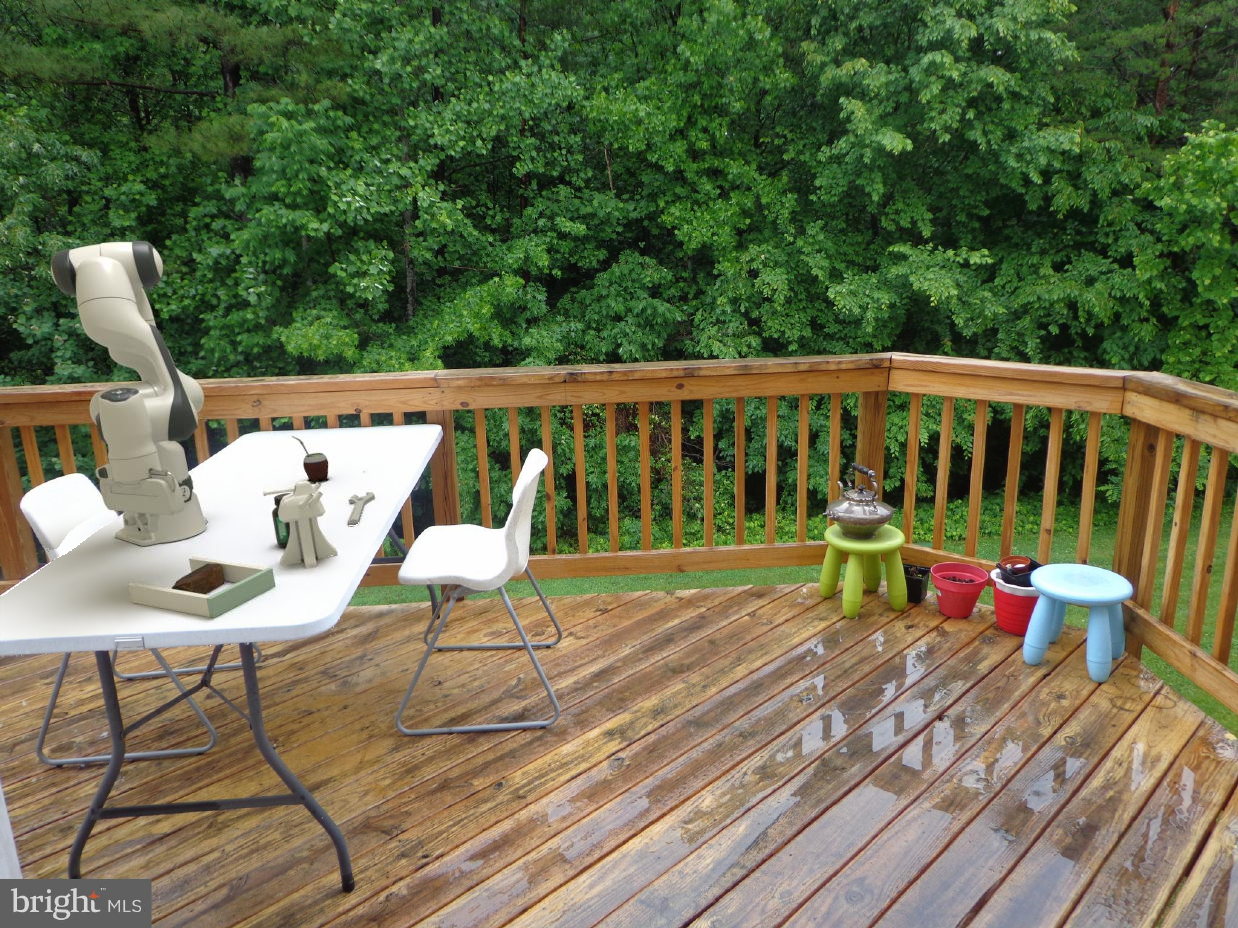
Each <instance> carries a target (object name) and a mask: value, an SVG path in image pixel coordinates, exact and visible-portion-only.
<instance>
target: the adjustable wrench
mask: <svg viewBox="0 0 1238 928" xmlns="http://www.w3.org/2000/svg"><path fill="white" fill-rule="evenodd" d="M365 494H366V495H364V496H363V495H362V496H358V495H357V494H353V495H351V496H350V497H349V499H348V504H349V503H350V505H353V508H352V510H351V513H350V515H349V517H348V519H347V526H348V525H356V524H358V522H359V523H360V521H359V520H361V518H360V516H361V517H362V515H363V512H364V509H363V508H365V506H366V505H367V504H369V503H371V502H372V500H373V501H374V500H375V499H376V497H375V493H374V492H372V491H371V492H370V491H367V492H365ZM362 511H363V512H362ZM361 514H362V515H361ZM358 525H359V524H358Z"/></svg>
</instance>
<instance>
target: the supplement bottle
mask: <svg viewBox="0 0 1238 928" xmlns="http://www.w3.org/2000/svg"><path fill="white" fill-rule="evenodd" d="M291 493H292V492H285V493H279V494H276V495H275V496H274V498H273V501H274V506H275V507H274V508H273V509H272V511H271V517H272V522H273V528H274V535H275V539H276V544H277V546H278V548H281V549H286V547H287V544H288V540H289V536H290V523H289V522H286V523H284V522H282V521H281V520H279V515H278V510H279V506H280V502H281V500H282V498H283V496H286V495H288V494H291Z"/></svg>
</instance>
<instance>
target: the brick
mask: <svg viewBox="0 0 1238 928" xmlns="http://www.w3.org/2000/svg"><path fill="white" fill-rule="evenodd" d="M225 583H226V581H225V579H224V573H223V568H222V566H221V565H220V564H205V565H204V566H202V567H200V568H198V569H196V570H194V571H193V572H189V573H187V574H185V575H183V576H182V577H180V578H178V579H177V580H176V581H175V583H174V585H172V586H171V589H175V590H181V591H187V592H193V593H198V594H204V595H208V594H210V593H211V592H213V591H215V590H217V589H219V588H220V587H222V586H224V585H225Z"/></svg>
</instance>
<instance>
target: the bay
mask: <svg viewBox="0 0 1238 928" xmlns="http://www.w3.org/2000/svg"><path fill="white" fill-rule="evenodd" d="M188 562H189V566H190V571H191V572H193V571H194V570H196V569H198V568H200V567H202V566H204V565H205V564H220V565H221V566H222V568H223V573H224V579H225V582H231V583H234V584H232V585H230V586H228V587H226V588H224V589H222V590H220V591H218V592H216V593H214V594H212V595H208V594H206V595H204V594H198V593H193V592H187V591H181V590H175V589H172V588H169V587H162V586H159V585H158V586H157V585H150V584H145V583H140V582H132V583H128V588H129V592H130V597H131V601H132V603H133V604H137V603H138V605H142V604H143V605H144V606H149V607H153V608H160V609H164V610H168V611H169V610H170V611H176V612H181V613H187V614H192V615H198V616H200V617H208V618H213V619H215V618H217V617H220V616H221V615H223V614H224V613H226V612H227V613H228V612H229V611H230V610H232V609H234V608H236V607H238V606H241V605H242V604H245V603H246V602H248V601H249V600H251V599H253V598H255V597H257V596H259V595H262V594H263V593H265V592H267V591H269V590H272V589H273V588H275V587H276V582H275V576H274V575H275V573H274V569H273V567H265V566H260V565H259V566H258V565H252V564H247V563H246V564H245V563H239V562H232V561H225V560H217V559H211V558H205V557H199V556H191V557H190V558H188ZM191 572H190V573H191Z"/></svg>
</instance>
